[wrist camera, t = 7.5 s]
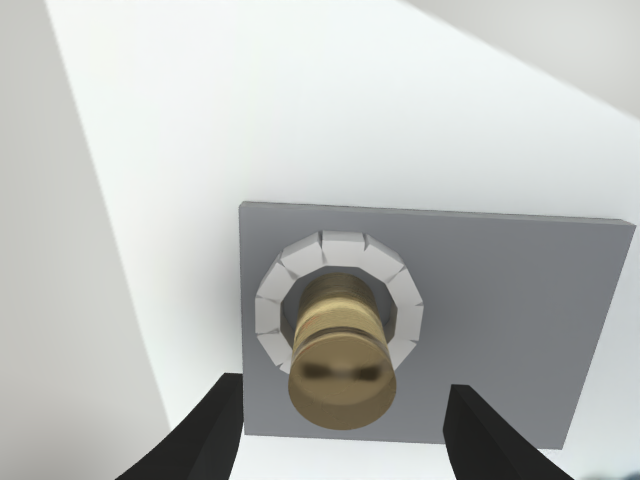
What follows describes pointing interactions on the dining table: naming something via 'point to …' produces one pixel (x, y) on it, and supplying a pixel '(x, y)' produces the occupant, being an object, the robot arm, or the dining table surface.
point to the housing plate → (434, 310)
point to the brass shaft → (340, 355)
